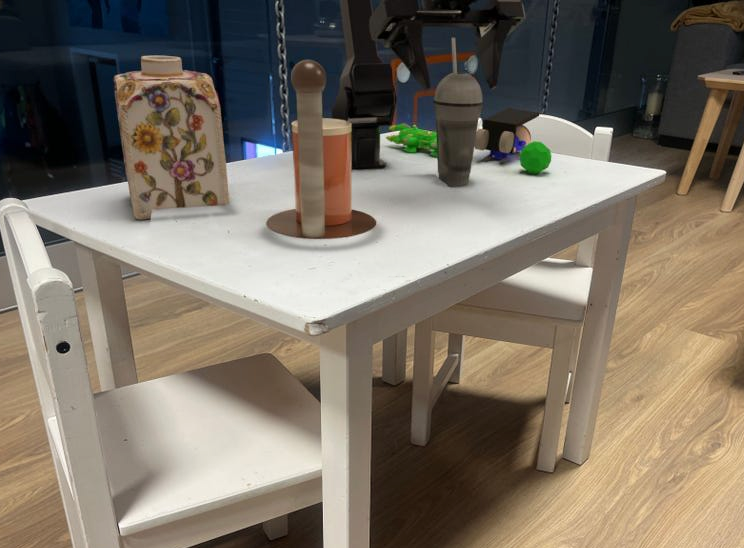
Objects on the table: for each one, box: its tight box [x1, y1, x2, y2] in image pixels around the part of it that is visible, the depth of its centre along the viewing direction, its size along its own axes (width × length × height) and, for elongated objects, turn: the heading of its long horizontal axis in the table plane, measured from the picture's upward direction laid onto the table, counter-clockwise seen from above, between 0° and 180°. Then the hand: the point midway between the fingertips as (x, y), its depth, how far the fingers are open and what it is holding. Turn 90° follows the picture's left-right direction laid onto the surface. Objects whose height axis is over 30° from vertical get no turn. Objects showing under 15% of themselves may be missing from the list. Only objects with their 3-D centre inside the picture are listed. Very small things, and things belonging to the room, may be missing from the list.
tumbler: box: [290, 117, 353, 226], centre depth 84 cm, size 7×7×11 cm
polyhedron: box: [519, 140, 552, 175], centre depth 115 cm, size 5×5×5 cm
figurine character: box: [474, 107, 540, 164], centre depth 125 cm, size 7×8×15 cm
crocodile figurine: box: [385, 122, 437, 158], centre depth 128 cm, size 7×18×4 cm, turn 56°
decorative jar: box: [113, 55, 230, 221], centre depth 90 cm, size 12×12×18 cm
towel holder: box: [265, 59, 377, 240], centre depth 81 cm, size 13×13×19 cm
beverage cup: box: [432, 37, 484, 187], centre depth 105 cm, size 7×7×20 cm
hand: (461, 89), depth 87 cm, fingers open, 9 cm apart
